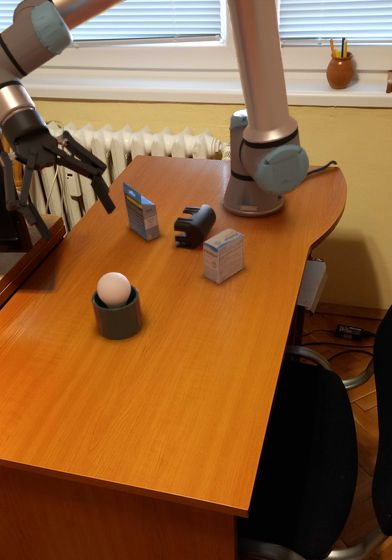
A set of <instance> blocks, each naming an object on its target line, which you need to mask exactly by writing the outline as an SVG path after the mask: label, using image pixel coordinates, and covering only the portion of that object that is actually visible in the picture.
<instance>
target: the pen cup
mask: <svg viewBox="0 0 392 560" xmlns="http://www.w3.org/2000/svg"><path fill="white" fill-rule="evenodd" d="M130 287H131V291H130V295H129V298H128V300H127V302H126V306H124V307H122V308H116V309H108V307H107V305H106V304H105V303H104V302H103V301H102V300H101V299H100V297H99V295H98V292H97V289H96V290H95V291H94V292H93V294H92V295H91V305H92V309H93V314H94V318H95V323H96V327H97V331H98V333H99V334H100V335H101V336H102V337H103V338H105V339H108V340H113V341H115V340H116V341H119V340H120V341H121V340H125V339H129V338H131V337H133V336H135V335H137V334H138V333H139V332H140V331H141V330H142V328H143V325H144V319H143V313H142V306H141V299H140V293H139V291H138V289H137V287H135V286H134V285H133V284H130Z"/></svg>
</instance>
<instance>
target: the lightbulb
mask: <svg viewBox="0 0 392 560" xmlns="http://www.w3.org/2000/svg"><path fill="white" fill-rule="evenodd" d="M96 285H97V286H96V290H97V292H98V295H99V297H100V299H101V300H102V301H103V302H104V303H105V304H106V305H107V307H108V309H116V308H122V307H124V306H126V302H127V300H128V298H129V295H130V291H131V287H130V285H131V284H130V281H129V280H128V278H127V277H126V276H125V275H124V274H122V273H120V272H114V271H113V272H112V271H111V272H108V273H105V274H103V275H102V276H101V277H100V279H99V280H98V282H97V284H96Z"/></svg>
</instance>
